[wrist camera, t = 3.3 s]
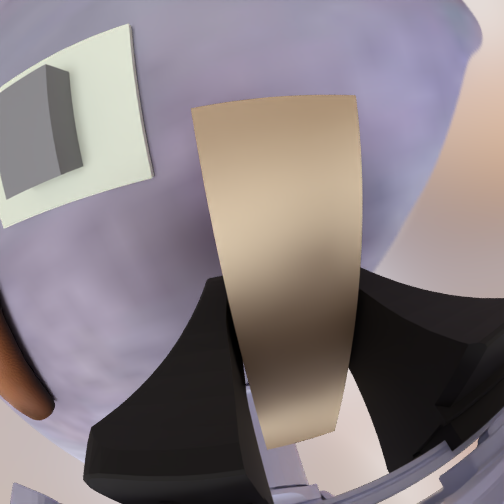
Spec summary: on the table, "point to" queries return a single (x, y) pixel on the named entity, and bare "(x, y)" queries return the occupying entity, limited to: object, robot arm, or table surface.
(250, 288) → the beige piece
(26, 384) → the sunglasses case
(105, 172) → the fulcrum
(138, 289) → the table surface
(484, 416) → the robot arm
